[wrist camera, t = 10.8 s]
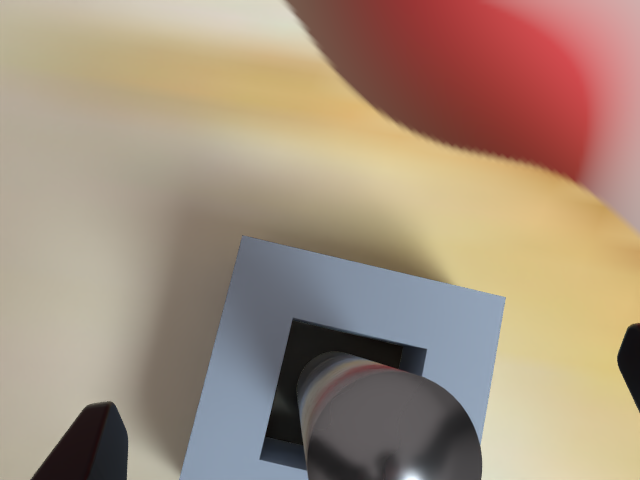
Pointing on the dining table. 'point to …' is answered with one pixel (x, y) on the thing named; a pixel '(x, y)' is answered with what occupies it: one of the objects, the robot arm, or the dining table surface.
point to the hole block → (336, 314)
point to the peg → (382, 424)
